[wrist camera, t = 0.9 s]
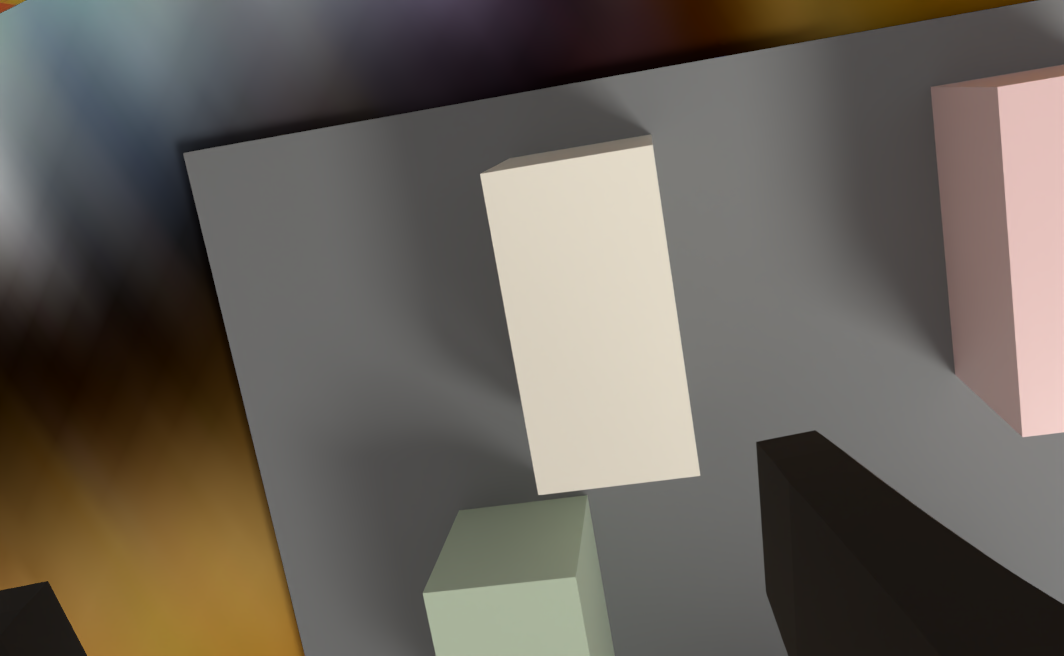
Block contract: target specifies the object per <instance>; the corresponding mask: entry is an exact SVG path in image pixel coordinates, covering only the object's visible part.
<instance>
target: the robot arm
mask: <svg viewBox="0 0 1064 656" xmlns="http://www.w3.org/2000/svg"><path fill="white" fill-rule="evenodd" d="M756 449H757V464H758V479H759V494H760V509H761V525H762V540H763V555H764V570H765V585H766V594H767V597H768V600H769V603H770V606H771V608H772V611H773V614H774V617H775V620H776V623H777V625H778V628H779V631H780V634H781V637H782V640H783V643H784V645H785V648H786V651H787V653H788V656H1064V604H1062V603H1061V602H1059V601H1057V600H1056V599H1054V598H1053V597H1051V596H1049V595H1048V594H1046V593H1045V592H1043V591H1041V590H1040V589H1038V588H1036V587H1035V586H1033V585H1032V584H1030V583H1028V582H1027V581H1025V580H1023V579H1022V578H1020V577H1019V576H1017V575H1016V574H1014V573H1013V572H1011V571H1010V570H1008V569H1007V568H1005V567H1004V566H1002V565H1001V564H999V563H997V562H996V561H994V560H993V559H992V558H990V557H989V556H987V555H986V554H984V553H983V552H981V551H980V550H979V549H977V548H976V547H974V546H973V545H971V544H970V543H968V542H967V541H966V540H964V539H963V538H961V537H960V536H958V535H957V534H955V533H954V532H953V531H951V530H950V529H948V528H947V527H945V526H944V525H942V524H941V523H940V522H938V521H937V520H935V519H934V518H933V517H931V516H930V515H928V514H927V513H926V512H924V511H923V510H922V509H920V508H919V507H917V506H916V505H915V504H913V503H912V502H911V501H909V500H908V499H907V498H905V497H904V496H903V495H901V494H900V493H899V492H897V491H896V490H895V489H893V488H892V487H890V486H889V485H888V484H886V483H885V482H884V481H882V480H881V479H880V478H879V477H877V476H876V475H875V474H873V473H872V472H871V471H869V470H868V469H867V468H865V467H864V466H863V465H861V464H860V463H859V462H857V461H856V460H855V459H854V458H852V457H851V456H850V455H848V454H847V453H846V452H844V451H843V450H842V449H840V448H839V447H838V446H836V445H835V444H834V443H832V442H831V441H830V440H828V439H827V438H826V437H824V436H823V435H821V434H820V433H819V432H817V431H816V430H814V431H809V432H803V433H798V434H793V435H788V436H783V437H778V438H773V439H768V440H763V441H758V442H756ZM0 656H87V655H86V653H85V651H84V649H83V647H82V645H81V643H80V641H79V639H78V638H77V636H76V634H75V632H74V630H73V628H72V626H71V624H70V622H69V620H68V619H67V617H66V615H65V613H64V611H63V609H62V607H61V605H60V603H59V601H58V599H57V598H56V596H55V594H54V592H53V590H52V588H51V586H50V584H49V582H48V581H46V582H41V583H36V584H31V585H26V586H21V587H16V588H11V589H6V590H1V591H0Z"/></svg>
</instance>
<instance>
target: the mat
mask: <svg viewBox="0 0 1064 656" xmlns="http://www.w3.org/2000/svg"><path fill="white" fill-rule="evenodd" d="M1063 64H1064V0H1037V1H1032V2H1026V3H1020V4H1015V5H1009V6H1004V7H998V8H992V9H987V10H981V11H976V12H970V13H964V14H959V15H953V16H948V17H942V18H936V19H931V20H925V21H920V22H914V23H908V24H903V25H897V26H892V27H886V28H880V29H875V30H869V31H864V32H858V33H852V34H847V35H841V36H836V37H830V38H824V39H819V40H813V41H808V42H802V43H796V44H791V45H785V46H780V47H774V48H768V49H763V50H757V51H752V52H746V53H740V54H735V55H729V56H724V57H718V58H712V59H707V60H701V61H696V62H690V63H684V64H679V65H673V66H668V67H662V68H656V69H651V70H645V71H640V72H634V73H628V74H623V75H617V76H612V77H606V78H600V79H595V80H589V81H584V82H578V83H572V84H567V85H561V86H556V87H550V88H544V89H539V90H533V91H528V92H522V93H516V94H511V95H505V96H500V97H494V98H488V99H483V100H477V101H472V102H466V103H460V104H455V105H449V106H444V107H438V108H432V109H427V110H421V111H416V112H410V113H404V114H399V115H393V116H388V117H382V118H376V119H371V120H365V121H360V122H354V123H348V124H343V125H337V126H332V127H326V128H320V129H315V130H309V131H304V132H298V133H292V134H287V135H281V136H276V137H270V138H264V139H259V140H253V141H248V142H242V143H236V144H231V145H225V146H220V147H214V148H208V149H203V150H197V151H192V152H186V153H183V155H184V159H185V164H186V168H187V172H188V176H189V180H190V184H191V188H192V192H193V197H194V201H195V205H196V209H197V213H198V217H199V221H200V225H201V229H202V234H203V238H204V242H205V246H206V250H207V254H208V258H209V262H210V267H211V271H212V275H213V279H214V283H215V287H216V291H217V295H218V299H219V304H220V308H221V312H222V316H223V320H224V324H225V328H226V332H227V337H228V341H229V345H230V349H231V353H232V357H233V361H234V365H235V369H236V374H237V378H238V382H239V386H240V390H241V394H242V398H243V402H244V407H245V411H246V415H247V419H248V423H249V427H250V431H251V435H252V440H253V444H254V448H255V452H256V456H257V460H258V464H259V468H260V472H261V477H262V481H263V485H264V489H265V493H266V497H267V501H268V505H269V510H270V514H271V518H272V522H273V526H274V530H275V534H276V538H277V542H278V547H279V551H280V555H281V559H282V563H283V567H284V571H285V575H286V580H287V584H288V588H289V592H290V596H291V600H292V604H293V608H294V612H295V617H296V621H297V625H298V629H299V633H300V637H301V641H302V645H303V650H304V654H305V656H436V654H435V649H434V645H433V640H432V635H431V631H430V626H429V621H428V616H427V612H426V607H425V602H424V598H423V591H424V589H425V587H426V584H427V582H428V580H429V578H430V575H431V573H432V571H433V569H434V566H435V564H436V562H437V559H438V557H439V555H440V553H441V550H442V548H443V546H444V543H445V541H446V539H447V537H448V534H449V532H450V530H451V528H452V525H453V523H454V521H455V518H456V516H457V514H458V512H459V510H467V509H476V508H484V507H492V506H501V505H509V504H518V503H526V502H534V501H543V500H551V499H560V498H568V497H576V496H585V495H587V496H588V502H589V507H590V513H591V519H592V525H593V531H594V537H595V543H596V548H597V554H598V560H599V566H600V572H601V578H602V584H603V590H604V595H605V601H606V607H607V613H608V619H609V625H610V631H611V636H612V642H613V648H614V654H615V656H788V653H787V651H786V648H785V645H784V643H783V640H782V637H781V634H780V631H779V628H778V625H777V623H776V620H775V617H774V614H773V611H772V608H771V606H770V603H769V600H768V597H767V594H766V585H765V570H764V555H763V540H762V525H761V509H760V494H759V479H758V464H757V449H756V442H758V441H763V440H768V439H773V438H778V437H783V436H788V435H793V434H798V433H803V432H809V431H814V430H816V431H817V432H819V433H820V434H821V435H823V436H824V437H826V438H827V439H828V440H830V441H831V442H832V443H834V444H835V445H836V446H838V447H839V448H840V449H842V450H843V451H844V452H846V453H847V454H848V455H850V456H851V457H852V458H854V459H855V460H856V461H857V462H859V463H860V464H861V465H863V466H864V467H865V468H867V469H868V470H869V471H871V472H872V473H873V474H875V475H876V476H877V477H879V478H880V479H881V480H882V481H884V482H885V483H886V484H888V485H889V486H890V487H892V488H893V489H895V490H896V491H897V492H899V493H900V494H901V495H903V496H904V497H905V498H907V499H908V500H909V501H911V502H912V503H913V504H915V505H916V506H917V507H919V508H920V509H922V510H923V511H924V512H926V513H927V514H928V515H930V516H931V517H933V518H934V519H935V520H937V521H938V522H940V523H941V524H942V525H944V526H945V527H947V528H948V529H950V530H951V531H953V532H954V533H955V534H957V535H958V536H960V537H961V538H963V539H964V540H966V541H967V542H968V543H970V544H971V545H973V546H974V547H976V548H977V549H979V550H980V551H981V552H983V553H984V554H986V555H987V556H989V557H990V558H992V559H993V560H994V561H996V562H997V563H999V564H1001V565H1002V566H1004V567H1005V568H1007V569H1008V570H1010V571H1011V572H1013V573H1014V574H1016V575H1017V576H1019V577H1020V578H1022V579H1023V580H1025V581H1027V582H1028V583H1030V584H1032V585H1033V586H1035V587H1036V588H1038V589H1040V590H1041V591H1043V592H1045V593H1046V594H1048V595H1049V596H1051V597H1053V598H1054V599H1056V600H1057V601H1059V602H1061V603H1062V604H1064V432H1062V433H1054V434H1046V435H1037V436H1029V437H1022V436H1021V435H1020V434H1018V433H1017V432H1016V431H1015V430H1014V429H1013V428H1012V427H1011V426H1010V425H1009V424H1008V423H1007V422H1006V421H1004V420H1003V419H1002V418H1001V417H1000V416H999V415H998V414H997V413H996V412H995V411H994V410H993V409H992V408H990V407H989V406H988V405H987V404H986V403H985V402H984V401H983V400H982V399H981V398H980V397H979V396H978V395H976V394H975V393H974V392H973V391H972V390H971V389H970V388H969V387H968V386H967V385H966V384H965V383H964V382H963V381H961V380H960V379H959V378H958V377H957V376H956V375H955V367H954V356H953V344H952V332H951V320H950V309H949V297H948V285H947V274H946V262H945V250H944V238H943V227H942V215H941V203H940V192H939V180H938V168H937V156H936V145H935V133H934V121H933V110H932V98H931V87H933V86H939V85H945V84H951V83H957V82H963V81H969V80H975V79H981V78H986V77H992V76H998V75H1004V74H1010V73H1016V72H1022V71H1028V70H1034V69H1040V68H1046V67H1051V66H1057V65H1063ZM650 134H651V136H652V143H653V150H654V157H655V164H656V171H657V178H658V185H659V191H660V198H661V205H662V212H663V219H664V226H665V233H666V240H667V247H668V254H669V261H670V268H671V275H672V282H673V288H674V295H675V302H676V309H677V316H678V323H679V330H680V337H681V344H682V351H683V358H684V365H685V372H686V378H687V385H688V392H689V399H690V406H691V413H692V420H693V427H694V434H695V441H696V448H697V456H698V463H699V470H700V476H695V477H687V478H678V479H670V480H662V481H653V482H645V483H637V484H628V485H620V486H612V487H603V488H595V489H587V490H578V491H570V492H561V493H553V494H545V495H538V491H537V485H536V480H535V474H534V469H533V463H532V458H531V452H530V447H529V441H528V436H527V430H526V425H525V419H524V414H523V408H522V403H521V397H520V392H519V386H518V381H517V375H516V370H515V364H514V359H513V353H512V348H511V342H510V337H509V331H508V326H507V320H506V315H505V309H504V304H503V298H502V293H501V287H500V282H499V276H498V271H497V265H496V260H495V254H494V248H493V243H492V237H491V232H490V226H489V221H488V215H487V210H486V204H485V199H484V193H483V188H482V182H481V177H480V174H481V173H483V172H484V171H486V170H488V169H490V168H492V167H494V166H496V165H498V164H500V163H502V162H503V161H505V160H507V159H509V158H514V157H520V156H526V155H532V154H538V153H544V152H549V151H555V150H561V149H567V148H573V147H579V146H585V145H591V144H597V143H603V142H609V141H614V140H620V139H626V138H632V137H638V136H644V135H650Z"/></svg>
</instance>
